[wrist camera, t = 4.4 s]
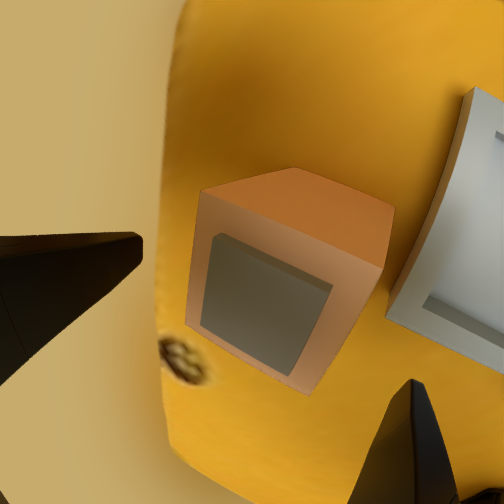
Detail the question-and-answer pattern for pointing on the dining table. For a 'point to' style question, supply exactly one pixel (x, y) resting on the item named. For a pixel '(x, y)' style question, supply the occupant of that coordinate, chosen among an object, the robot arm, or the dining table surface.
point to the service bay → (462, 244)
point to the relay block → (285, 270)
